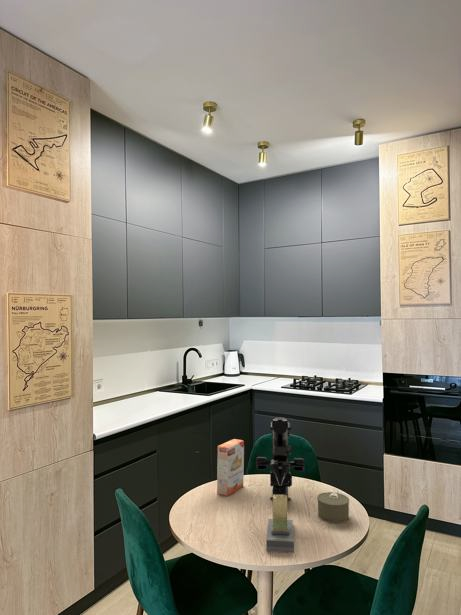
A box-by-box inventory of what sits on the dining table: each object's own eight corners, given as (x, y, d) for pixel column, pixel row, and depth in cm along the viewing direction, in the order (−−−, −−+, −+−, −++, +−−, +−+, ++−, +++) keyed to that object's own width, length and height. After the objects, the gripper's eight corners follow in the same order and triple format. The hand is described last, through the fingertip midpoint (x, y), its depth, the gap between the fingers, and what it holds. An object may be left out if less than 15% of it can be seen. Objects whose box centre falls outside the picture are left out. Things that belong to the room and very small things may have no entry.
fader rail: (268, 522, 163) (268, 513, 163) (292, 523, 162) (292, 514, 162) (266, 551, 143) (266, 540, 143) (294, 552, 142) (293, 541, 142)
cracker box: (228, 496, 187) (228, 447, 188) (216, 493, 190) (216, 445, 191) (244, 486, 199) (244, 440, 199) (233, 483, 202) (233, 438, 203)
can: (315, 520, 165) (315, 502, 165) (319, 507, 176) (319, 490, 176) (348, 525, 161) (348, 506, 161) (350, 511, 172) (349, 494, 173)
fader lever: (271, 526, 156) (271, 493, 156) (288, 527, 155) (288, 493, 156) (271, 533, 151) (271, 498, 151) (288, 534, 150) (288, 499, 151)
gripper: (256, 436, 172) (254, 474, 160) (304, 437, 170) (305, 476, 158) (257, 450, 179) (255, 487, 168) (303, 451, 177) (304, 490, 166)
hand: (280, 485), depth 165 cm, fingers closed
